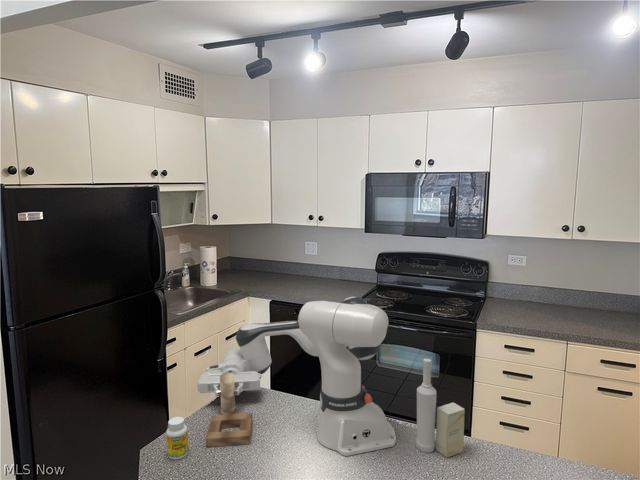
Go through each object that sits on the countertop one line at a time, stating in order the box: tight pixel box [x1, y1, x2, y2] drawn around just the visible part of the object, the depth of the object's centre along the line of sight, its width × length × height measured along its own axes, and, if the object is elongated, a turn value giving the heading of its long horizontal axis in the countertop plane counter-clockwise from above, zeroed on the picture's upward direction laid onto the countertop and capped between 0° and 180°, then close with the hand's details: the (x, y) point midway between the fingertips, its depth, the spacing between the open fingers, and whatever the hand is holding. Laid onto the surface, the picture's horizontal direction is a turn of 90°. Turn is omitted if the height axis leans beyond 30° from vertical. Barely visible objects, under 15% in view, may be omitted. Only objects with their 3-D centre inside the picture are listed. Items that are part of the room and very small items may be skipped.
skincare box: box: [435, 402, 466, 458], centre depth 112 cm, size 6×4×12 cm
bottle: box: [415, 358, 438, 454], centre depth 113 cm, size 5×5×25 cm
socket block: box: [205, 412, 253, 448], centre depth 122 cm, size 12×12×2 cm
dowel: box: [220, 373, 236, 415], centre depth 133 cm, size 4×4×12 cm
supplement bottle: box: [165, 416, 190, 460], centre depth 112 cm, size 5×5×10 cm
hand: (227, 393), depth 132 cm, fingers closed on dowel, 4 cm apart
